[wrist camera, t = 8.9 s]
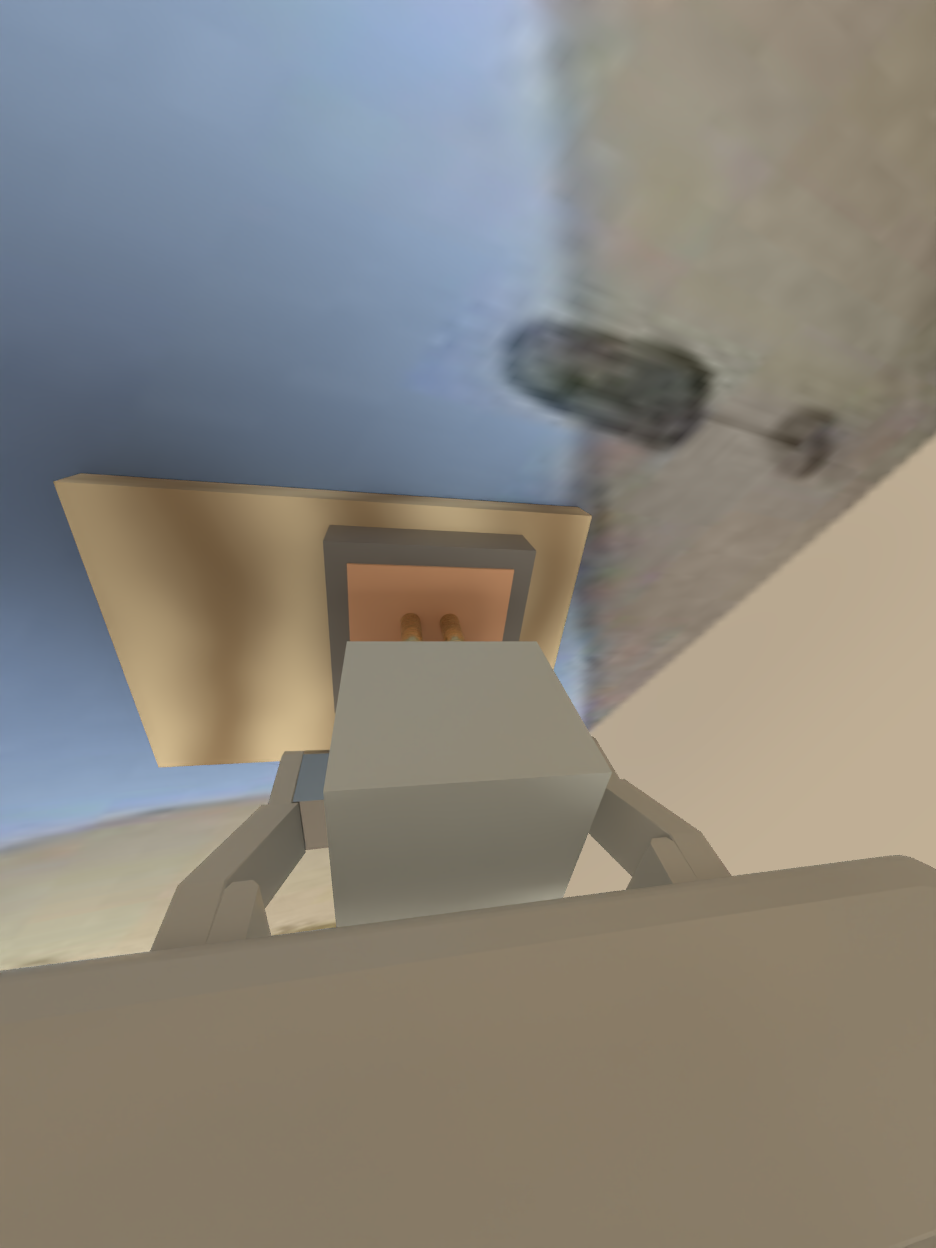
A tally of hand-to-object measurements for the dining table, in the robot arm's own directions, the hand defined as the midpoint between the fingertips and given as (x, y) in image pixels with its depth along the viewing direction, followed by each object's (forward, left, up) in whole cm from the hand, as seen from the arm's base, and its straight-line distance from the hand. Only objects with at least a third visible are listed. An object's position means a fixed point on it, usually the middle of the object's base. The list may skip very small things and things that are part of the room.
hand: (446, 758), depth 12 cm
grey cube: (0, 0, -2) cm, 2 cm away
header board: (-3, -2, -10) cm, 11 cm away
